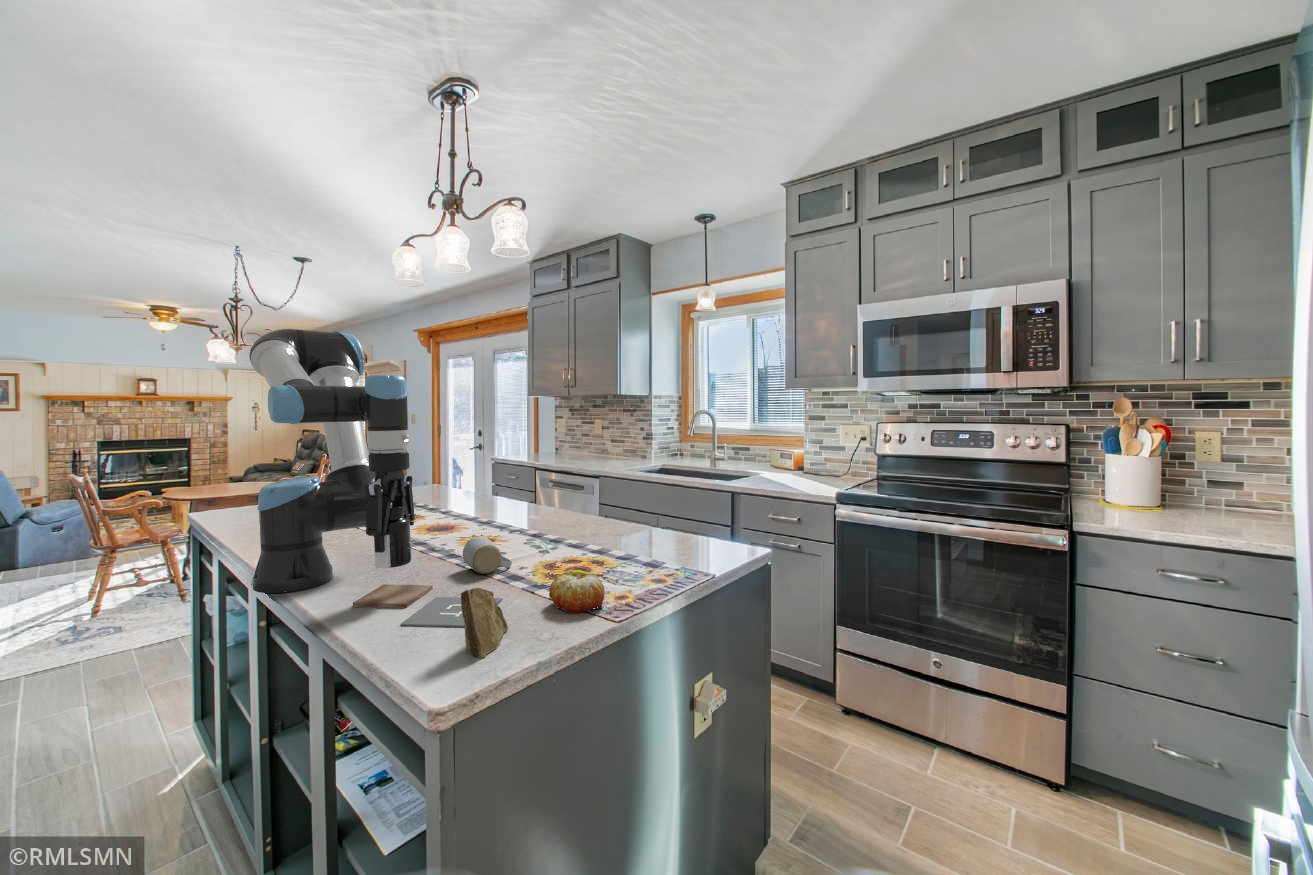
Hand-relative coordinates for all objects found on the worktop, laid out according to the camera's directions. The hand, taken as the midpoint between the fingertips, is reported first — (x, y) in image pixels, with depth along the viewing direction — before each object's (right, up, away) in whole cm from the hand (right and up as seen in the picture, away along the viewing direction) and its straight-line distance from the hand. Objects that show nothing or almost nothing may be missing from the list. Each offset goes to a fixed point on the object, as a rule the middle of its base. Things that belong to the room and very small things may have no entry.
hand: (393, 561), depth 115 cm
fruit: (+39, -8, -4) cm, 40 cm away
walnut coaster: (0, -8, +1) cm, 8 cm away
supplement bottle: (0, -1, 0) cm, 1 cm away
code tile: (+15, -8, -8) cm, 19 cm away
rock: (+26, -9, -21) cm, 35 cm away
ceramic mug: (+14, -7, +19) cm, 25 cm away
